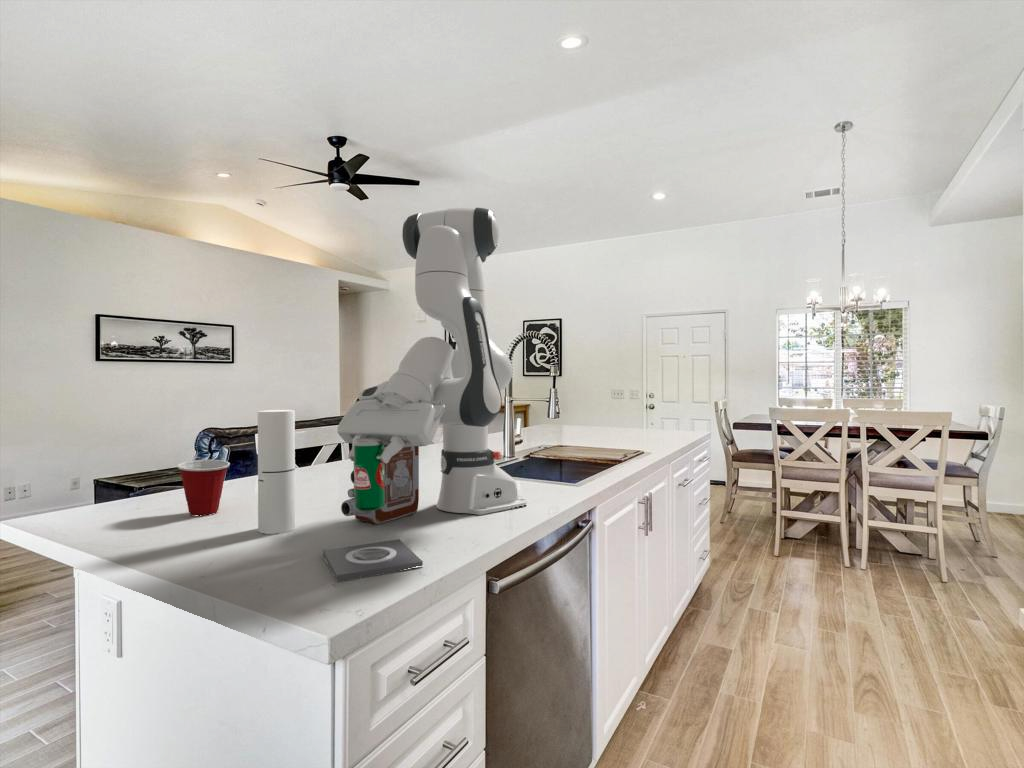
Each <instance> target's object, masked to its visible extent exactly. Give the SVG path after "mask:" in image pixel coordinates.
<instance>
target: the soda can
mask: <svg viewBox="0 0 1024 768" xmlns="http://www.w3.org/2000/svg"><path fill="white" fill-rule="evenodd" d="M381 440H382V438H360V439H356V443H355V445H354V461H353V470H354V480H355V507H356V508H357V509H358V510H361V511H372V510H378V509H381V508H383V506H384V505H385V467H384V463H379V461H378V460H377V459H376V456H377V454H379V451H380V450H384V444H383V442H382V441H381Z"/></svg>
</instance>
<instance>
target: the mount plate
mask: <svg viewBox="0 0 1024 768" xmlns="http://www.w3.org/2000/svg"><path fill="white" fill-rule="evenodd" d="M322 557H323V558H324V560H325V562H326V564H327V565H328V567H329V569H331V570H330V572H331V573H332V574H333V577H334V578H335V581H336V582H337V581H338V582H343V580H344V581H349V579H350V580H355V578H356V579H361V578H360V577H362V578H365V576H368V577H372V576H371V575H374V576H378V575H377V574H380V575H384V574H383V573H385V574H389V573H388V572H391V573H394V572H393V571H397V572H401V571H400V570H403V571H405V570H404V569H408V568H412V567H416V566H422V565H423V563H424V562H423V560H422V559H421V558H420V557H419V556H417V554H415V553H414V552H413V550H412V549H411V548H409V547H408V546H407V545H406V544H405V543H404V542H403V541H402V540H401V539H391V540H384V541H383V540H382V541H378V542H377V541H376V542H370V543H363V544H354V545H351V546H350V545H348V546H342V547H335V548H329V549H323V550H322Z"/></svg>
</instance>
